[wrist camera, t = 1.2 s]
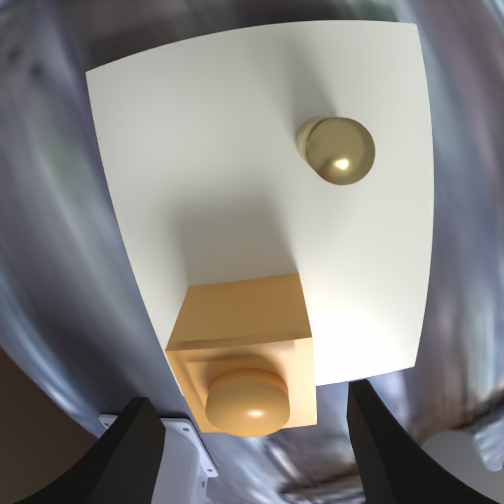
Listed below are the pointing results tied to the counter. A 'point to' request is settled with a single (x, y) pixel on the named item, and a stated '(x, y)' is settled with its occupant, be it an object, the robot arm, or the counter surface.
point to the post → (336, 148)
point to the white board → (277, 178)
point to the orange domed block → (246, 356)
